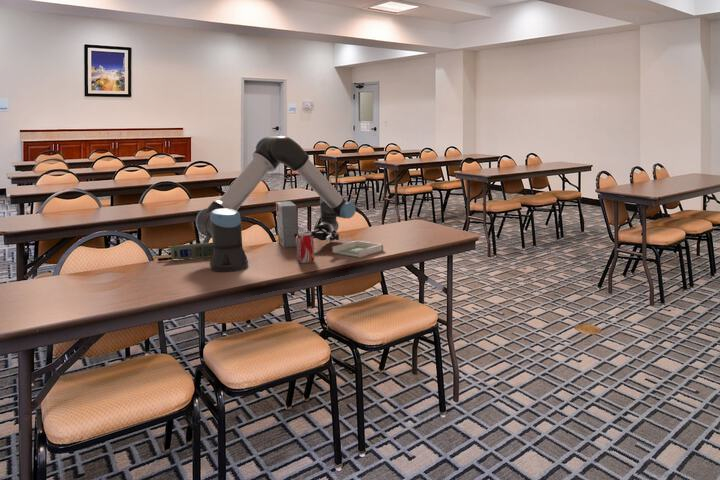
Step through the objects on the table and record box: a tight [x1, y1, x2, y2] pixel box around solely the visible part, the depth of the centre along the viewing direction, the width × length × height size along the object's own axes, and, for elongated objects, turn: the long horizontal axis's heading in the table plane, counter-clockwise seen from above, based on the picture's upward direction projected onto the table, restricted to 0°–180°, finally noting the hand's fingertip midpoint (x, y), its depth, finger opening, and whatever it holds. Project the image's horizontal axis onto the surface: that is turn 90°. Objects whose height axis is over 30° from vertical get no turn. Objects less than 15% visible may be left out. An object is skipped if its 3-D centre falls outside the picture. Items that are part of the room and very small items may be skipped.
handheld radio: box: [157, 241, 213, 262], centre depth 248 cm, size 7×3×25 cm
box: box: [331, 240, 384, 259], centre depth 251 cm, size 16×16×3 cm
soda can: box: [296, 232, 315, 264], centre depth 234 cm, size 7×7×12 cm
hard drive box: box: [275, 200, 299, 249], centre depth 271 cm, size 16×8×20 cm, turn 17°
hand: (311, 240), depth 244 cm, fingers open, 13 cm apart
